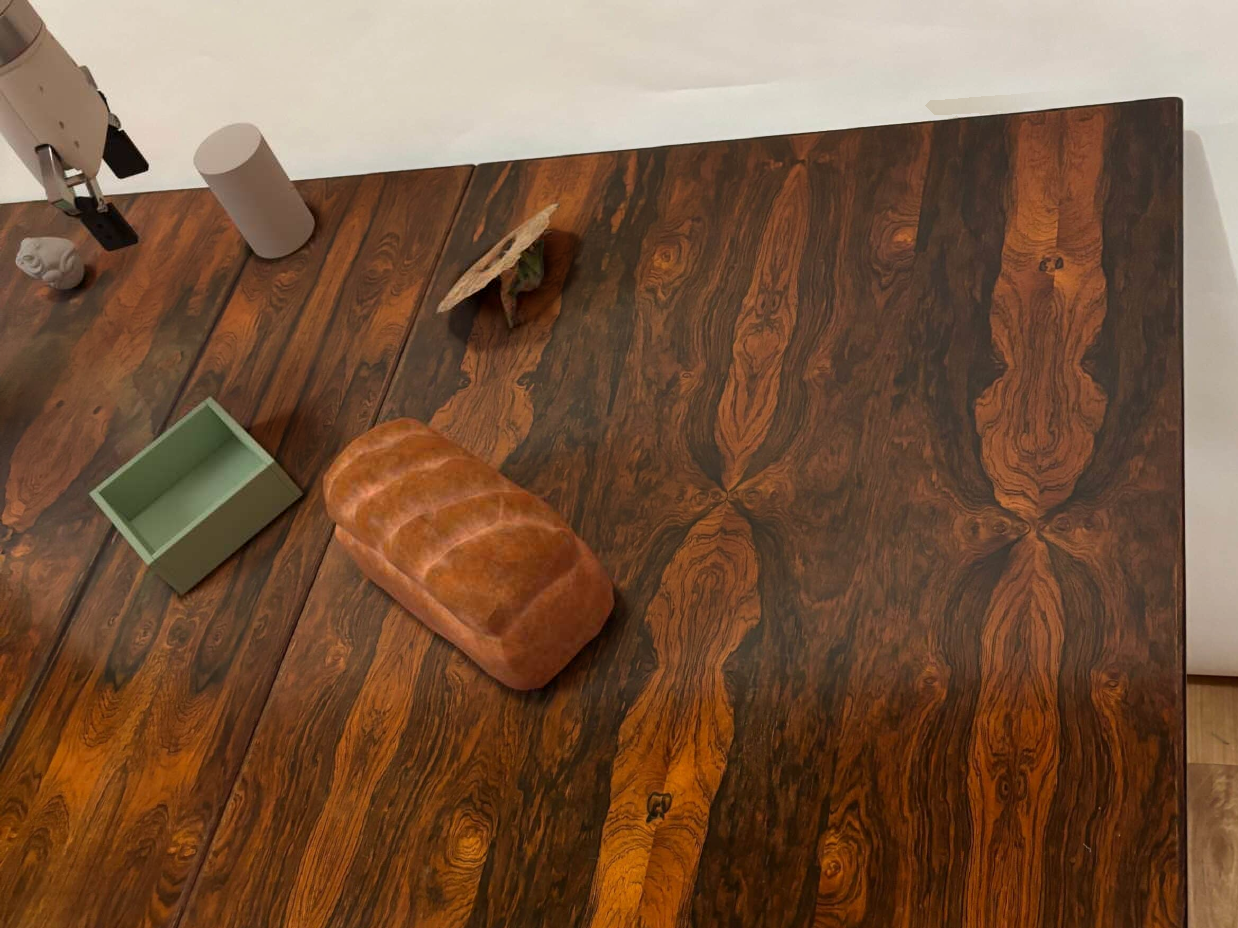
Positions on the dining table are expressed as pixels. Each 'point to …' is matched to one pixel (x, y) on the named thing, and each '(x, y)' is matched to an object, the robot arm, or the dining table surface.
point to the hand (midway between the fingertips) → (129, 208)
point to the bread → (467, 551)
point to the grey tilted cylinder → (254, 190)
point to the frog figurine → (51, 261)
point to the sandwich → (507, 266)
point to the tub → (195, 495)
